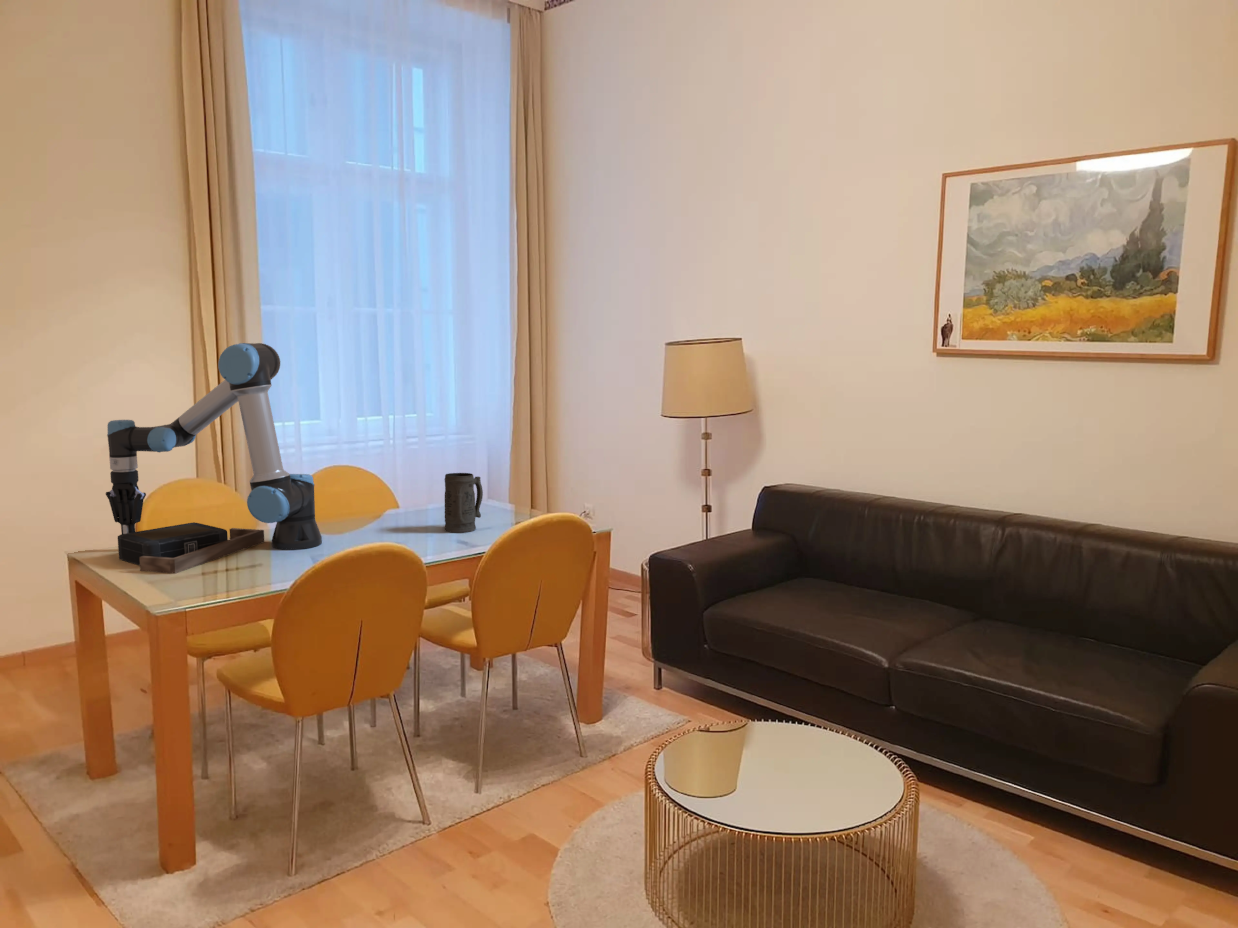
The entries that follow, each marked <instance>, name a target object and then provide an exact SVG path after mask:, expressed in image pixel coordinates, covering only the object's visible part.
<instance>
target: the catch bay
mask: <svg viewBox="0 0 1238 928" xmlns="http://www.w3.org/2000/svg"><path fill="white" fill-rule="evenodd" d="M262 543H263V544H264V543H265V529H255V528H254V529H252V528H238V527H237V528H236V527H232V528H229V539H228V540H227V541H224V542H221V543H218V544H214V545H211V546H208V547H205V548H202V549H199V550H196V551H193V552H190V553H187V554H184V555H181V556H178V557H175V558H167V557H153V556H141V557H139V558H140V565H139V569H140V571H141V572H152V573H165V574H166V573H167V574H177V573H182V572H184V571H186V570H190V569H191V568H195V567H198V566H200V565H205V563H209V562H212V561H215V560H217V559H220V558H223V557H225V556H228V555H232V554H235V553H237V552H240V551H243V550H247V549H248V548H252V547H254V546H257V545H260V544H262Z"/></svg>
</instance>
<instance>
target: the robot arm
mask: <svg viewBox="0 0 1238 928" xmlns="http://www.w3.org/2000/svg"><path fill="white" fill-rule="evenodd" d="M217 364H218V365H217V367H218V368H217V369H218V371H219V374H220V376H221V377H222V378H223V379H224V380H223V381H222V382H220V383H218V385H217V386H216V387H214V388H213V389H212V390H211V391H209V392H208V393H206V394H205V395H204V396H203V397H202V398H200V400H198V401H197V402H196V403H194V404H193V405H192V406H191V407H189V408H188V409H187V410H185V411H184V412H183V413H182V414H181V415H179V417H178V418H176V419H175V420H174V421H172V422H171V423H168V424H163V425H157V426H156V425H155V426H136V422H135V421H134V420H133V419H113V420H109V421H108V422H107V435H106V437H107V443H108V444H107V445H108V451H109V470H111V471H110V482H111V484H112V486H111V490H109V491H106V492H105V496H106V498H107V499H108V502H109V505H110V508H111V513H112V516H113V520H114V522H115V523H118V524H119V525H120V528H121V534H126V533H132V532H136V524H137V523H140V522H142V521H141V519H142V512H143V508H144V507H143V506H144V505H143V504H144V500H145V498H146V496H147V493H146V492H144V491H143V492H142V491H141V490H140V489H139V486H138V482H139V471H138V470H137V469H138V467H139V465H138V457H137V456H138V455H137V454H138V452H150V453H155V452H157V453H164V452H166V453H167V452H171V451H173V449H174V448H179V447H186V446H188V445H190V444H191V443H193V442H194V441H195V439H196V437H197V435H198V434H199V433H201V431H203V430H205V429H206V428H207V427H208V426H210V424H212V423H213V422H214V421H215V420H217V419H218V418H219V417H221V415H223V414H225V412H227V411H228V410H229V409H231V408H232V407H233V406H234V405H236V404H237V403H238V407H239V410H240V414H241V415H240V416H241V419H242V425H243V426H242V427H243V429H244V434H245V440H246V444H247V449H248V455H249V460H250V464H251V468H252V473H253V475H252V477H251V478H250V479H249V485H250V493H249V495H248V496H247V499H246V505H247V509H248V511H249V513H250V515H251V516H252V517H253V518H254V519H256V520H257V521H258V522H261V523H265V524H273V523H276V524H275V528H274V530H273V535H272V538H271V546H272V548H274V549H278V550H303V549H311V548H314V547H317V546H320V545H322V543H323V540H322V537H323V536H322V534H321V531H320V528H319V526H318V524H317V521H316V509H315V508H316V507H315V506H316V505H315V503H316V502H315V483H314V477H313V476H312V474H307V473H289V472H288V471H286V470H285V469H284V467H283V461H282V457H281V452H280V445H279V443H278V436H277V432H276V427H275V421H274V416H273V412H272V408H271V403H270V398H269V391H270V389H271V388H272V380H273V379H274V378H275V377H276V376H277V374H278V373H279V371H280V368H281V359H280V356H279V354H278V352H277V351H276V349H275V348H273V347H272V346H270V345H269V344H266V343H260V342H257V343H256V342H255V343H254V342H251V343H248V342H240V343H236V344H232V345H231V344H230V345H229V346H227V347H226V348H225V349H224V350H223V351H222V352H221V354H220V355H219V359H218V363H217Z"/></svg>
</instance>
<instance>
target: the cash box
mask: <svg viewBox="0 0 1238 928" xmlns="http://www.w3.org/2000/svg"><path fill="white" fill-rule="evenodd" d="M227 540H229V539H228V530H227V529H225V528H221V527H217V526H213V525H208V524H203V523H200V522H196V521H195V522H188V523H181V524H175V525H170V526H163V527H157V528H151V529H144V530H139V531H135V532H132V533H126V534H122V533H121V534H119V535H117V549H118V558H119V560H120V561H124V562H126V563H127V562H128V563H131V564H134V565H138V566H140V558H139V557H141V556H153V557H167V558H175V557H178V556H181V555H184V554H187V553H190V552H193V551H196V550H199V549H202V548H205V547H208V546H211V545H214V544H218V543H221V542H224V541H227Z"/></svg>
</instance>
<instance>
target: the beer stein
mask: <svg viewBox="0 0 1238 928" xmlns="http://www.w3.org/2000/svg"><path fill="white" fill-rule="evenodd" d="M482 485H483V484H482V483H481V477H480V476H475V477H474V474H473V473H470V472H453V473H452V472H451V473H449V472H448V473H446V474H445V475H444V523H445V524H444V531H445V532H448V533H454V534H461V533H465V534H466V533H471V532H474V531H475V530H477V527H476V518H478V519H479V518H481V516H482V515H481V512H480V507H481V504H482V501H483V496H484V494H483V493H484V492H483V491H484V490H483V486H482ZM474 486H475V487H476V493H475V487H474Z"/></svg>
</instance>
